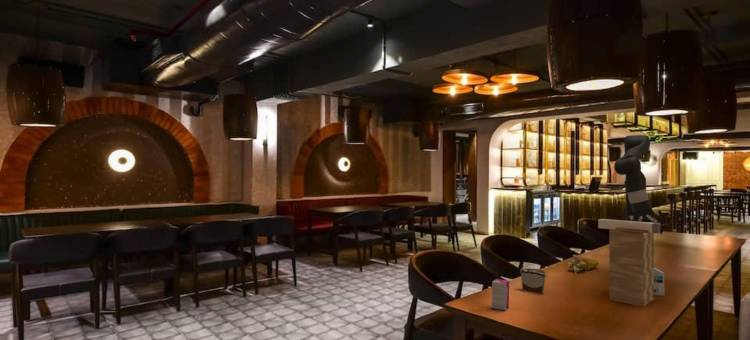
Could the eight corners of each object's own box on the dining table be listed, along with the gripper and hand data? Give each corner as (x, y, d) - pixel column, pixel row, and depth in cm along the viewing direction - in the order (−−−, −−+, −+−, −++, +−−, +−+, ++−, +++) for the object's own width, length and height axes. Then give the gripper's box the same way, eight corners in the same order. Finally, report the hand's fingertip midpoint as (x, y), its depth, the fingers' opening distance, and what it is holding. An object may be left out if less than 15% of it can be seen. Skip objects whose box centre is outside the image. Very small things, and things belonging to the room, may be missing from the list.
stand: (621, 293, 201) (621, 225, 201) (653, 299, 191) (653, 228, 191) (609, 299, 191) (609, 228, 191) (643, 306, 181) (642, 231, 181)
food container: (550, 292, 203) (550, 270, 203) (545, 295, 198) (545, 273, 198) (525, 287, 211) (525, 266, 211) (519, 290, 207) (519, 269, 207)
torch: (598, 274, 253) (573, 274, 239) (587, 265, 259) (562, 265, 245) (605, 263, 250) (580, 262, 236) (594, 254, 256) (569, 253, 242)
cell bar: (601, 227, 205) (601, 218, 205) (660, 232, 188) (660, 223, 188) (598, 228, 203) (598, 219, 203) (657, 233, 185) (657, 224, 185)
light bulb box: (665, 296, 196) (665, 272, 196) (648, 295, 198) (648, 271, 198) (654, 289, 207) (654, 267, 207) (639, 289, 208) (639, 266, 208)
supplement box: (505, 311, 175) (505, 283, 175) (491, 309, 178) (491, 281, 178) (509, 307, 180) (509, 280, 180) (495, 305, 183) (495, 278, 183)
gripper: (656, 196, 197) (668, 231, 195) (621, 203, 204) (633, 237, 202) (657, 197, 190) (670, 233, 188) (621, 205, 197) (633, 240, 195)
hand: (650, 235), depth 195 cm, fingers open, 7 cm apart
